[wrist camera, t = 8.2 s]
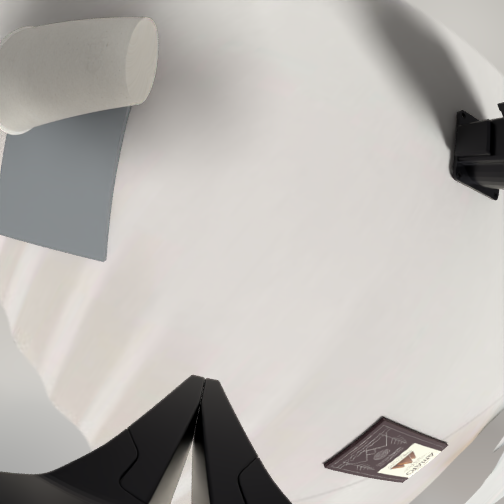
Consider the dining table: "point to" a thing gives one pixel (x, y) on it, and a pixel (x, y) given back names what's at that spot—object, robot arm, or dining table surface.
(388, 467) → the chocolate bar
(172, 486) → the robot arm
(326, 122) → the dining table surface
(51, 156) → the mat
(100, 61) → the dixie cup
